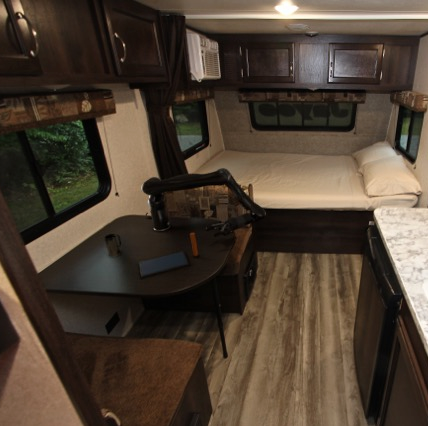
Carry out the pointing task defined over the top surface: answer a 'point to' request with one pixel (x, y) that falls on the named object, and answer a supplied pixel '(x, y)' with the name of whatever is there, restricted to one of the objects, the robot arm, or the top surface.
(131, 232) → the top surface
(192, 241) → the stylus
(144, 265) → the tablet
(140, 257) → the top surface
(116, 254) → the mug
